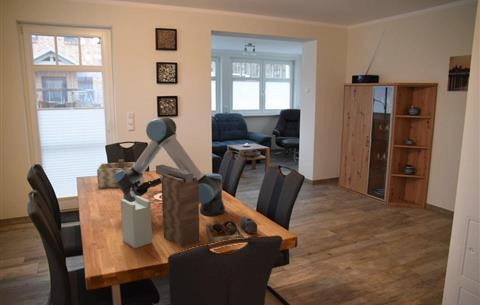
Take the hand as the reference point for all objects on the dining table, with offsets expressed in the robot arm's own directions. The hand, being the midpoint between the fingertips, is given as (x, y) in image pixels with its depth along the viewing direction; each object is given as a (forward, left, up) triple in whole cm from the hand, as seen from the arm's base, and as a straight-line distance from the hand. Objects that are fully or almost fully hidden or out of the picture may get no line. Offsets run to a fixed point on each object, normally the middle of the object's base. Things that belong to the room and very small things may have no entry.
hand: (155, 177), depth 183 cm
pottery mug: (-33, +20, -27) cm, 47 cm away
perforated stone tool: (-45, +17, -27) cm, 55 cm away
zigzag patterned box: (+30, -101, -27) cm, 109 cm away
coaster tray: (-32, +21, -27) cm, 47 cm away
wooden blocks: (+29, -100, -27) cm, 108 cm away
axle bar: (-9, +15, +3) cm, 18 cm away
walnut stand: (-11, +20, -27) cm, 35 cm away
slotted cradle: (+9, +18, -27) cm, 34 cm away
